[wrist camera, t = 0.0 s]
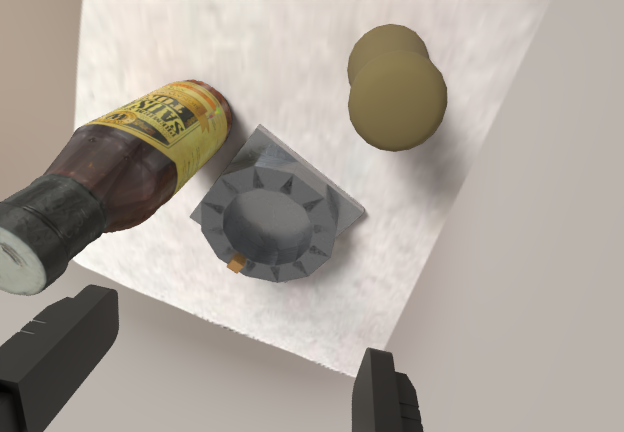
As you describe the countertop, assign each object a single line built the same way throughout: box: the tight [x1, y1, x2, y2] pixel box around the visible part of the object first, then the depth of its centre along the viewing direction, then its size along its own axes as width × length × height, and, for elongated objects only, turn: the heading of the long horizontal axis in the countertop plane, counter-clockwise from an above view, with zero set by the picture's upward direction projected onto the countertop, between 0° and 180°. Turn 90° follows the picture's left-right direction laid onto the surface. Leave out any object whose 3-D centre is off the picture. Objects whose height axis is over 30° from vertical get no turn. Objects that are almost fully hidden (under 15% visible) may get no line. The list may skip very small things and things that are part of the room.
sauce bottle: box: [0, 80, 232, 296], centre depth 23 cm, size 6×6×20 cm
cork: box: [347, 24, 447, 152], centre depth 23 cm, size 6×6×11 cm
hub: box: [190, 124, 364, 283], centre depth 34 cm, size 12×12×4 cm
